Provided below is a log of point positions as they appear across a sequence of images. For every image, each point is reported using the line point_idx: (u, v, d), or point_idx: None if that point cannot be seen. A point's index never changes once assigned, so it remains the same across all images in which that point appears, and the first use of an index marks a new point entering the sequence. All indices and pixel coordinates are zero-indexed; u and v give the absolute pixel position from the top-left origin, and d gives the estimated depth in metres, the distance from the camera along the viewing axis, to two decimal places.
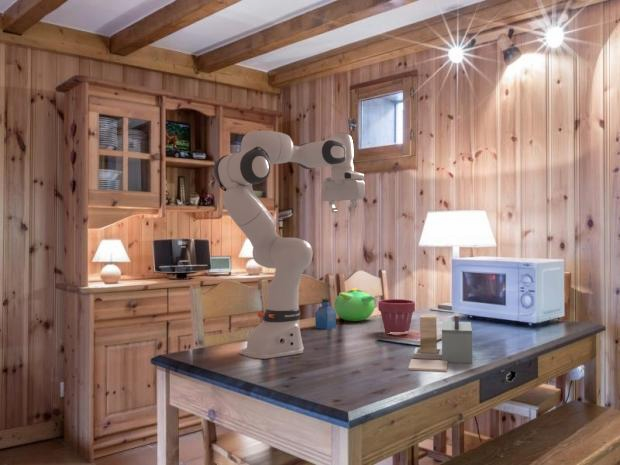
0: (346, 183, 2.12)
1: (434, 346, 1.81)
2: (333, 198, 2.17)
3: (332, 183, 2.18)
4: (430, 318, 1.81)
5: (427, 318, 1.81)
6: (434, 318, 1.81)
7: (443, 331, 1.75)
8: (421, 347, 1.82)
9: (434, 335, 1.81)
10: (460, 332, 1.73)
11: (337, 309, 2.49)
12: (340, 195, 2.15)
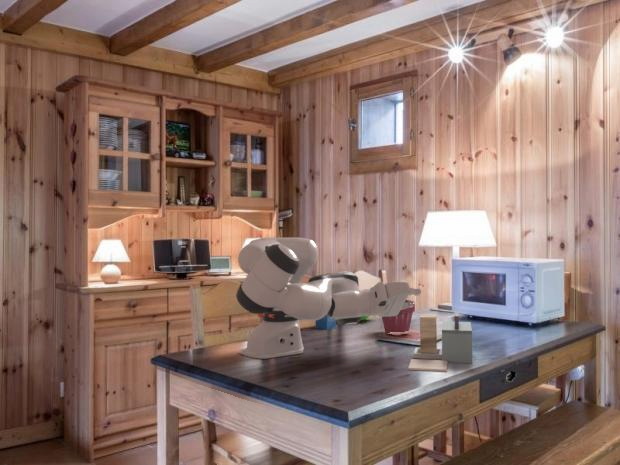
0: (389, 301, 1.80)
1: (434, 346, 1.81)
2: (400, 308, 1.87)
3: None
4: (430, 318, 1.81)
5: (427, 318, 1.81)
6: (434, 318, 1.81)
7: (443, 331, 1.75)
8: (421, 347, 1.82)
9: (434, 335, 1.81)
10: (460, 332, 1.73)
11: None
12: (400, 303, 1.84)
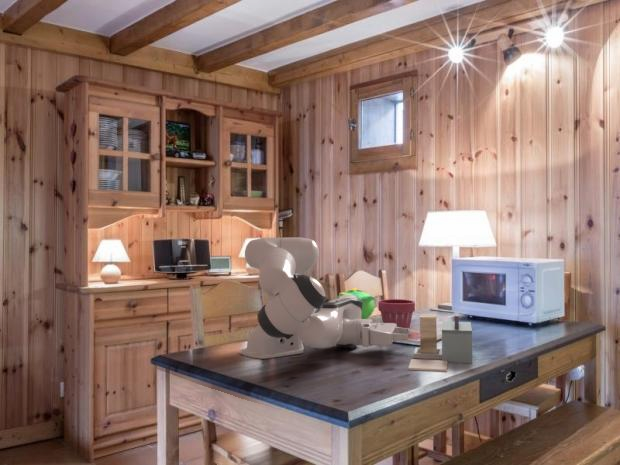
0: None
1: (434, 346, 1.81)
2: None
3: None
4: (430, 318, 1.81)
5: (427, 318, 1.81)
6: (434, 318, 1.81)
7: (443, 331, 1.75)
8: (421, 347, 1.82)
9: (434, 335, 1.81)
10: (460, 332, 1.73)
11: None
12: None
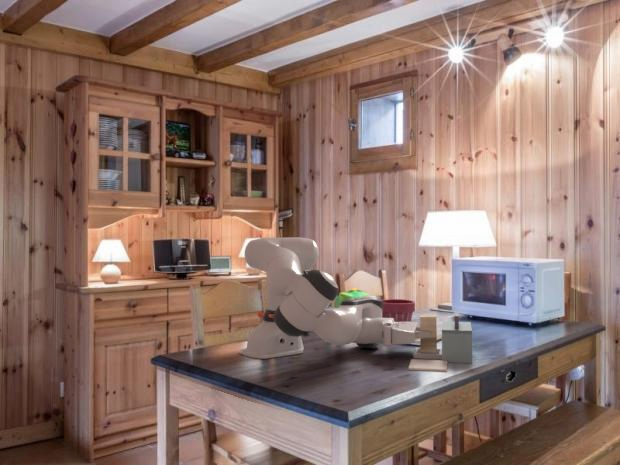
0: None
1: (434, 346, 1.81)
2: None
3: None
4: (430, 318, 1.81)
5: (427, 318, 1.81)
6: (434, 318, 1.81)
7: (443, 331, 1.75)
8: (421, 347, 1.82)
9: (434, 335, 1.81)
10: (460, 332, 1.73)
11: None
12: None
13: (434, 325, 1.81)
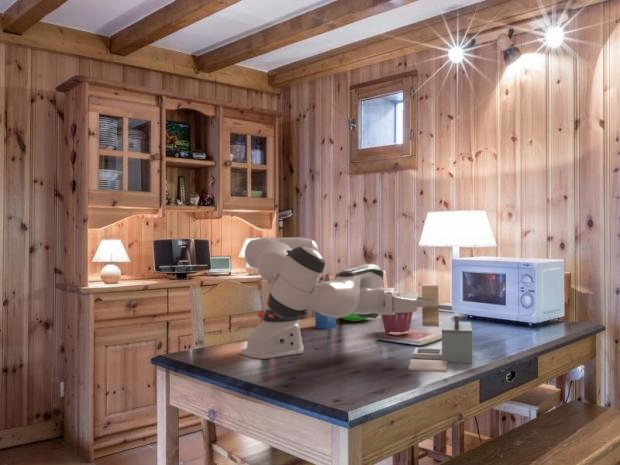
0: None
1: (436, 315, 1.78)
2: None
3: None
4: (432, 286, 1.78)
5: (429, 286, 1.78)
6: (436, 286, 1.78)
7: (443, 331, 1.75)
8: (423, 316, 1.79)
9: (436, 303, 1.78)
10: (460, 332, 1.73)
11: None
12: None
13: (436, 294, 1.78)
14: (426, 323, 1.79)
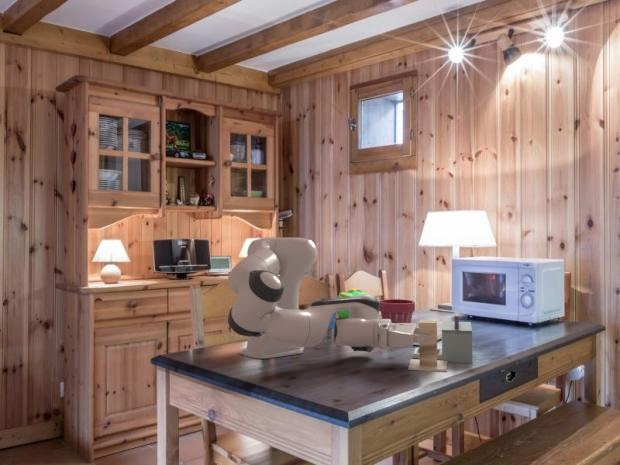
0: None
1: (434, 354, 1.67)
2: None
3: None
4: (430, 324, 1.67)
5: (427, 324, 1.67)
6: (434, 324, 1.67)
7: (443, 331, 1.75)
8: (420, 355, 1.68)
9: (434, 342, 1.67)
10: (460, 332, 1.73)
11: None
12: None
13: (434, 331, 1.67)
14: (424, 363, 1.68)
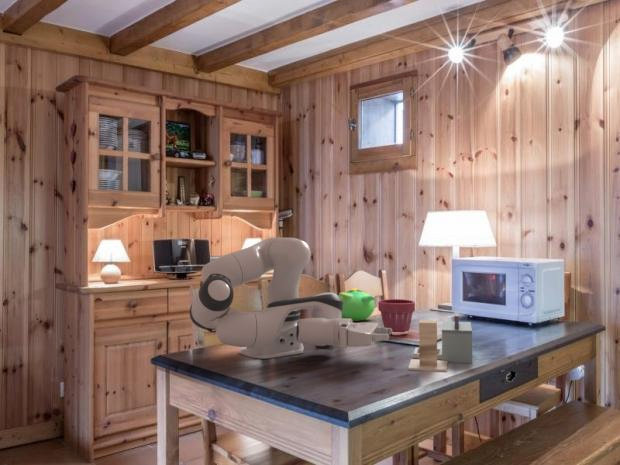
0: None
1: (434, 354, 1.67)
2: None
3: None
4: (430, 324, 1.67)
5: (427, 324, 1.67)
6: (434, 324, 1.67)
7: (443, 331, 1.75)
8: (420, 355, 1.68)
9: (434, 342, 1.67)
10: (460, 332, 1.73)
11: None
12: None
13: (434, 331, 1.67)
14: (424, 363, 1.68)
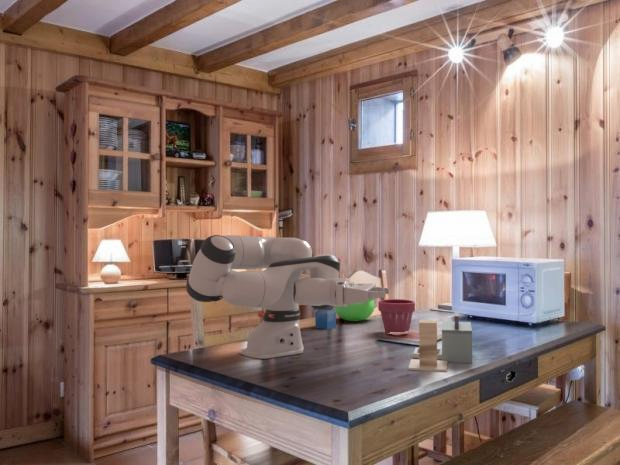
0: None
1: (434, 354, 1.67)
2: None
3: None
4: (430, 324, 1.67)
5: (427, 324, 1.67)
6: (434, 324, 1.67)
7: (443, 331, 1.75)
8: (420, 355, 1.68)
9: (434, 342, 1.67)
10: (460, 332, 1.73)
11: (337, 309, 2.49)
12: None
13: (434, 331, 1.67)
14: (424, 363, 1.68)
